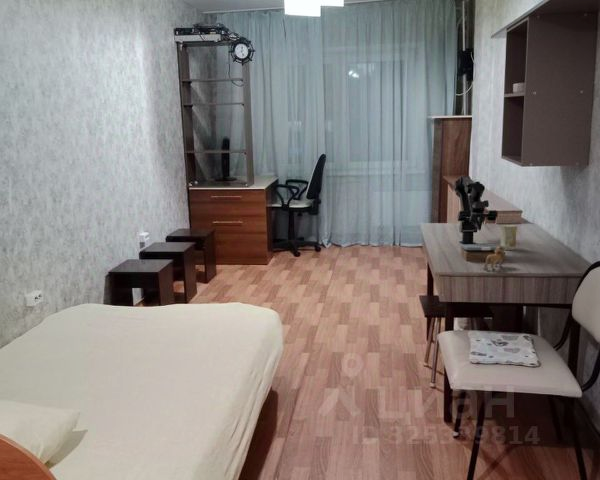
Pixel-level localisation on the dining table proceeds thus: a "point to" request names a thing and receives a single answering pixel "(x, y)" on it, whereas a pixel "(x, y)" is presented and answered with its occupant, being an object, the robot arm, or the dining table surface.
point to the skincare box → (508, 236)
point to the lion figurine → (495, 258)
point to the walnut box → (477, 254)
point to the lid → (481, 247)
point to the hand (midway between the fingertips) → (479, 230)
